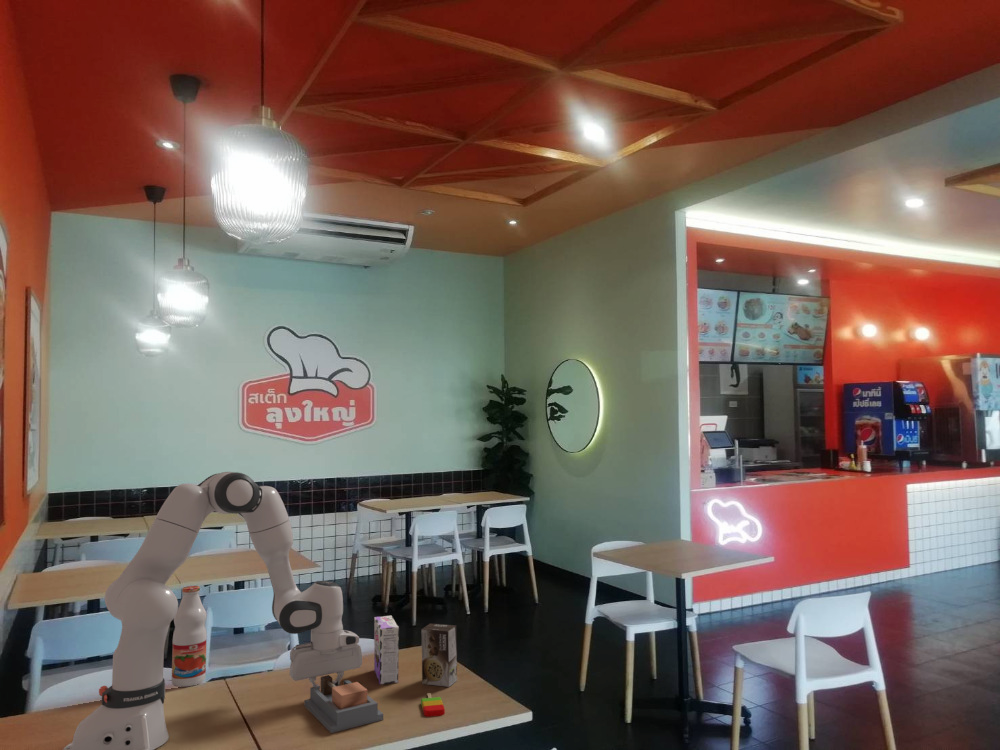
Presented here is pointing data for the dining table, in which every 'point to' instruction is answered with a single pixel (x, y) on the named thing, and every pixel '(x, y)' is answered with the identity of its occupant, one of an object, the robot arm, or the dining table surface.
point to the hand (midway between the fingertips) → (326, 689)
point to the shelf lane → (341, 711)
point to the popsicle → (432, 706)
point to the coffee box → (439, 655)
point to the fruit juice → (189, 640)
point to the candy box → (386, 649)
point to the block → (344, 693)
